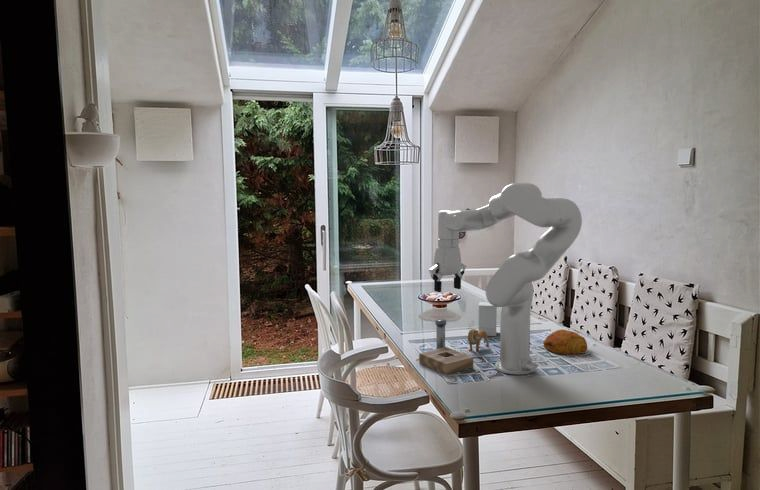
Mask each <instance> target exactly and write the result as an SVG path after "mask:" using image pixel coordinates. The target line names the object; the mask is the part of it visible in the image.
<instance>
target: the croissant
mask: <svg viewBox="0 0 760 490" xmlns="http://www.w3.org/2000/svg"><path fill="white" fill-rule="evenodd" d="M542 344H543V347H544V348H545V350H548V351H549V352H552V353H554V354H561V355H565V356H568V355H569V356H571V355H579V354H584V353H586V352H587V351H588V343H587V340H586V338H585V337H583V336H582V335H580V334H579V333H577V332H574V331H571V330H567V329H558V330H555V331H553V332H552V333H550V334H549V335H547V337H546V338H545V339H544V340H543V342H542Z"/></svg>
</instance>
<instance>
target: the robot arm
mask: <svg viewBox="0 0 760 490" xmlns="http://www.w3.org/2000/svg"><path fill="white" fill-rule="evenodd" d="M501 190H502V191H501V192H500V193H497V194H496V195H492V196H491V197H490V199H489V201H488V204H487V205H485V206H482V207H480V208H477V209H462V210H456V209H454V210H453V209H443V210H440V211H439V212H438V218H437V223H438V224H437V226H438V227H437V247H436V248H435V251H434V258H433V266H432V267H431V268H429V270H428V272H429V275H430V277H431V278H432V280H433V281H434V284H433V285H434V287H433V291H434V292H436V293H442V278H443V277H444V276H452V275H453V276H454V277H453V288H454V289H458V290H461V289H462V278H463V275H464V274H465V271H466V268H467V265H465V264H464V263H462V257H461V249H460V248H461V247H459V245H460V243H461V240H460V239H459V238H460V233H462V232H464V233H465V232H472V231H473V232H475V231H480V230H484V229H486V228H489V227H492V226H494V225H497V224H499V223H500V222H502V221H504V220H506V219H509V218H512V217H514V216H515V217H516V216H517V217H518V218H521V219H522V220H525V221H526V222H528V223H529V224H532V225H533V226H536V227H539V228H548V230H547V231H545V232H544V233H543V234H542V235H541V236H540V237H539V238H538V240H537V241H536V242H535V243H534V245H532V247H531V248H529V249H528V250H526V251H521V252H516V253H514V254H512V255H511V256H509V257H508V258H506V260H504V262H503V263H502V264H501V265H500V267H499V268H498V269H497V271H496V272H495V273H494V274H493V275H492V277H491V278H490V280H488V282H487V285H486V287H485V297H486V299H487V301H488V302H489V303H490V304H492V305H493V306H496V307H497V308H501V309H500V310H501V311H500V315H499V317H500V320H499V321H500V324H499V333H500V334H499V360H498V361H496V362H495V364H494V368H495V369H496V370H497V371H499V372H501V373H505V374H508V375H518V376H519V375H520V376H521V375H528V374H531V373H533V372H536V371H537V369H538V367H539V363H536V362H533V357H532V356H530V353H531V349H530V347H531V346H530V345H531V314H532V313H531V312H532V311H531V309H532V302H533V298H534V284H533V282H536V281H540V280H541V279H544V278H545V277H546V275H548V273H549V272H550V270H552V268H553V267H554V266H555V265H556V263H557V262H558V261H559V260H560V259H561V258H562V257H563V255H564V254H565V253H566V252H567V250H568V249H569V248H570V247H571V246H572V245H573V243H574V242H575V241H576V239H577V238H578V236H579V234H580V231H581V229H582V224H583V223H582V222H583V221H582V220H583V218H582V214H581V210H580V208H579V206H578V205H577V204H576V202H574V201H573V200H570V199H568V198H563V197H555V198H554V197H552V198H550V197H549V198H545V197H543V195H542V191H541V189H540V188H539V186H537V185H536V184H534V183H530V182H529V183H528V182H523V183H521V182H520V183H519V182H515V183H510V184H508V185H506V186H505V187H504V188H503V189H501Z"/></svg>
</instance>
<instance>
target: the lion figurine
mask: <svg viewBox="0 0 760 490" xmlns="http://www.w3.org/2000/svg"><path fill="white" fill-rule="evenodd" d="M482 340H484V342H483V344H485V347H489V345H490V341H489V339H488V336H487V333H486V331H484V330H479V331H478V329H477V328H476V329H475V328H471V329H470V330H469V331H468V332H467V342H468V343H469V349H468V351H469V352H472V351H473V346H475V347H476V348H475V352H476V353H479V352H480V349H479V348H480V345H481V343H482Z"/></svg>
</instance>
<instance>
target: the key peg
mask: <svg viewBox="0 0 760 490" xmlns="http://www.w3.org/2000/svg"><path fill="white" fill-rule="evenodd" d="M434 323H435V324H434V325H435V326H436V334H435V335H436V339H435V340H436V341H435V342H436V346H435V347H436V349H440V348H444V347H446V325H447V319H443V318H437V319H435V321H434Z"/></svg>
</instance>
